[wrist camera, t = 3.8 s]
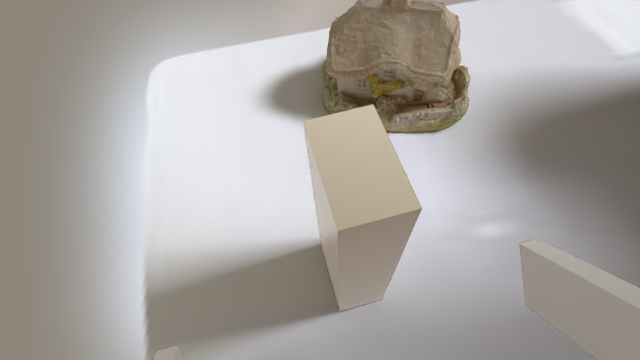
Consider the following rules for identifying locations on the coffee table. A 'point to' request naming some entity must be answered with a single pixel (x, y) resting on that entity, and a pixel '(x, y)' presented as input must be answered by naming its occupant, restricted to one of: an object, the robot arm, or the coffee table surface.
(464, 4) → the coffee table surface
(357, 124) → the beige rectangular block
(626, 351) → the robot arm
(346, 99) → the ceramic model
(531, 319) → the coffee table surface
